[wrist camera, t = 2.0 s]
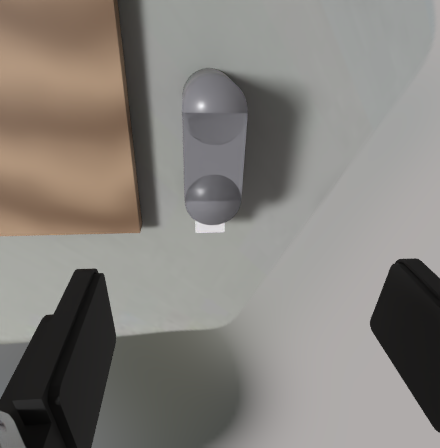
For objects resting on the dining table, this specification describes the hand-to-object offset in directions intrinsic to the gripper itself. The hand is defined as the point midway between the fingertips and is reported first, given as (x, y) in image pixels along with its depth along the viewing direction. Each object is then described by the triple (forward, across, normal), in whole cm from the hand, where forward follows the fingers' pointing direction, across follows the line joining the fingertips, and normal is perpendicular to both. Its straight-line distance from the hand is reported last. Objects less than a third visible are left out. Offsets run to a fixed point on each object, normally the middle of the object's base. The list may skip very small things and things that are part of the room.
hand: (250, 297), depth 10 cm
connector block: (+18, 0, -1) cm, 18 cm away
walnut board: (+18, +12, -3) cm, 22 cm away
